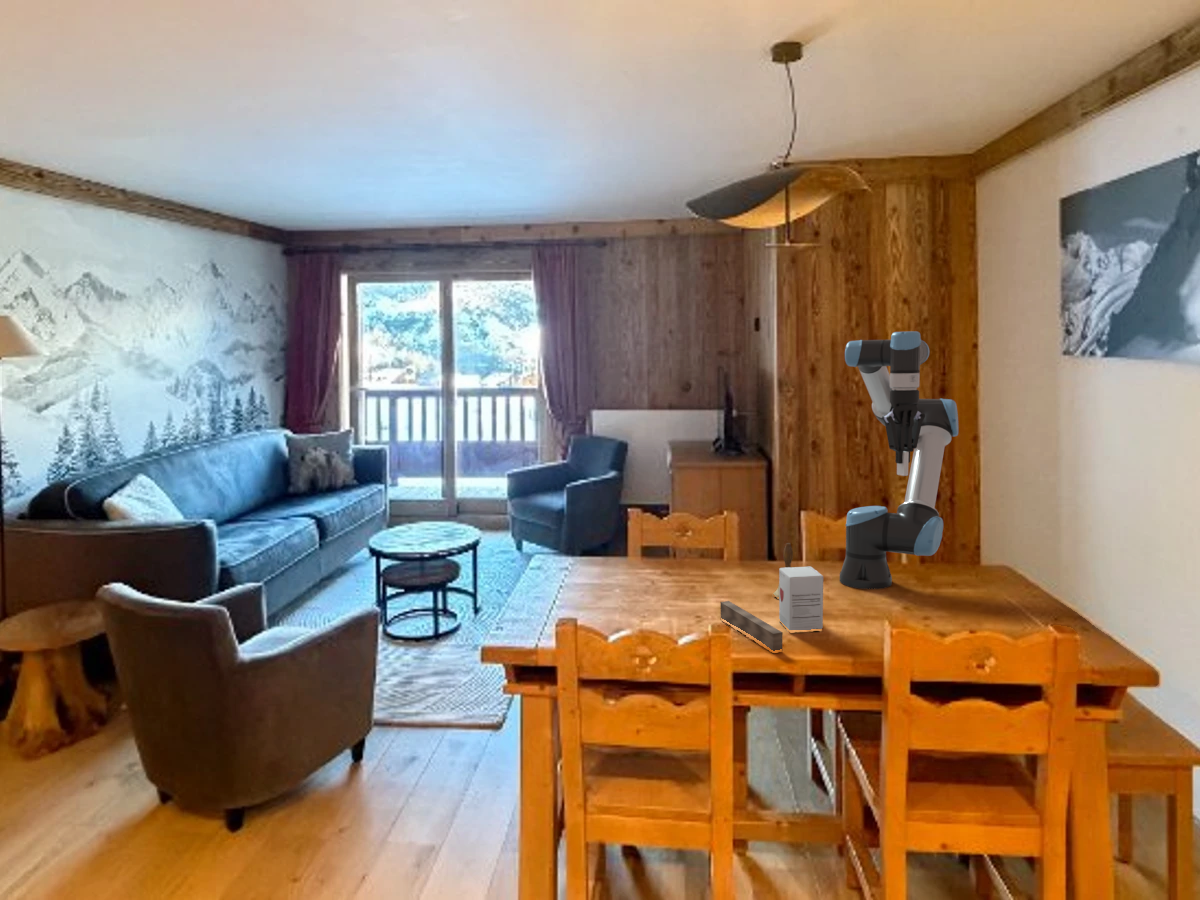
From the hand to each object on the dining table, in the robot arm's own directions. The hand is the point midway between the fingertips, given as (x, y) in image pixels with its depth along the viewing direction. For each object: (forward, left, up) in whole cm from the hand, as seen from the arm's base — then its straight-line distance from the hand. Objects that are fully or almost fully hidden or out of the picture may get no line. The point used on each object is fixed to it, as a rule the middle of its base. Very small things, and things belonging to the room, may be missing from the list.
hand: (902, 474), depth 219 cm
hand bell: (-18, -25, -37) cm, 48 cm away
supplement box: (+5, -36, -37) cm, 52 cm away
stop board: (+5, -51, -36) cm, 63 cm away
